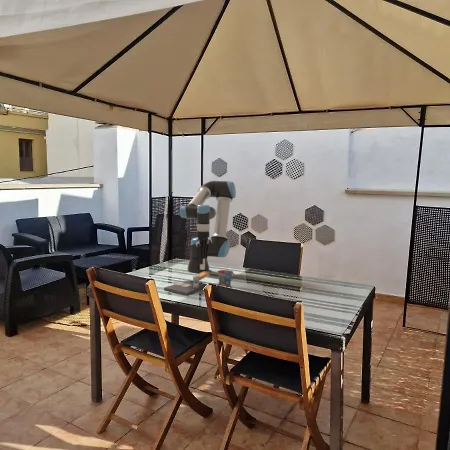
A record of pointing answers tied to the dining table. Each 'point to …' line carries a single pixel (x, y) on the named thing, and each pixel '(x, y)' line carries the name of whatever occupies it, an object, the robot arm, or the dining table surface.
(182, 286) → the server panel
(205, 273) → the cable arm
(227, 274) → the mug
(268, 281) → the dining table surface
